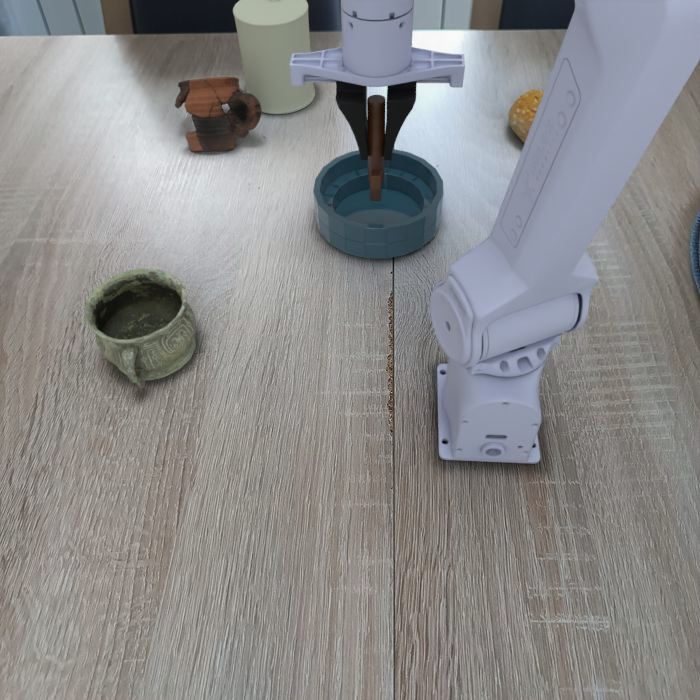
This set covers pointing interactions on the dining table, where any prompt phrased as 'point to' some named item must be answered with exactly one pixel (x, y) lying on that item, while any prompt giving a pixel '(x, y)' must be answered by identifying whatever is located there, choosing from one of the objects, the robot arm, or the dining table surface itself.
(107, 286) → the vessel
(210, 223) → the dining table surface
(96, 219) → the dining table surface
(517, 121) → the bagel
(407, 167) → the bowl
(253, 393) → the dining table surface
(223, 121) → the pottery mug
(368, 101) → the stirring stick
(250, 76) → the can
